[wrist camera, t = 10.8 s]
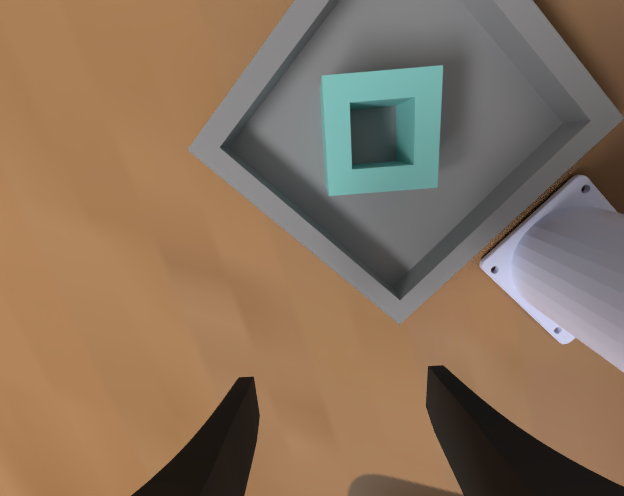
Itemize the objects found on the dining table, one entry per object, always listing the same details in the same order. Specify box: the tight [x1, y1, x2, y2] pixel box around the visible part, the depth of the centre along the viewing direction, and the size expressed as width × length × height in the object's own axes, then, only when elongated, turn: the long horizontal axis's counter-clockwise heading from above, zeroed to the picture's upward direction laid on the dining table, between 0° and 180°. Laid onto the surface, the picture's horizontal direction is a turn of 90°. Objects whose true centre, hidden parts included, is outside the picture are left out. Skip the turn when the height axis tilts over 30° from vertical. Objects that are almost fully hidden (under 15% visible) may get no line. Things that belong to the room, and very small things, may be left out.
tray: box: [188, 0, 624, 325], centre depth 18 cm, size 16×16×2 cm
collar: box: [320, 65, 443, 196], centre depth 17 cm, size 5×5×4 cm
